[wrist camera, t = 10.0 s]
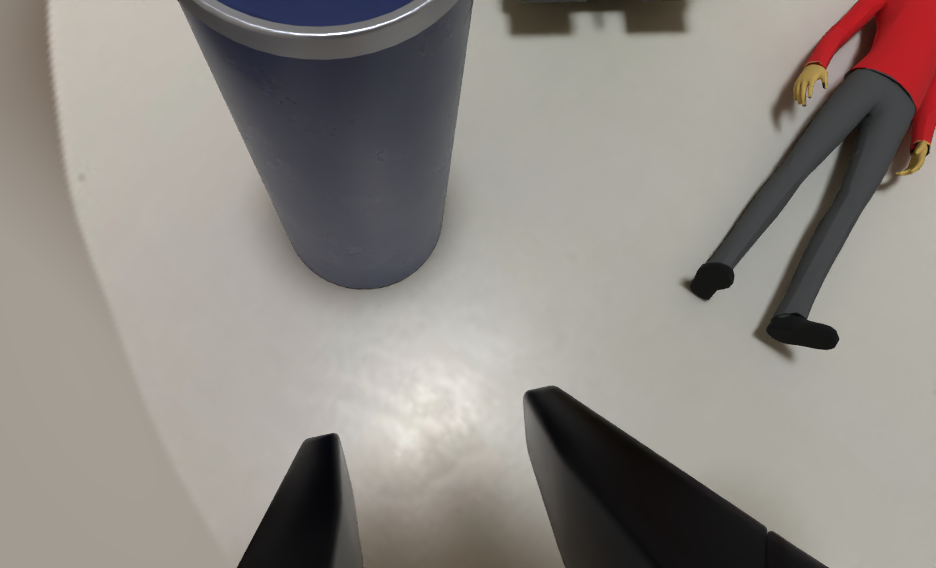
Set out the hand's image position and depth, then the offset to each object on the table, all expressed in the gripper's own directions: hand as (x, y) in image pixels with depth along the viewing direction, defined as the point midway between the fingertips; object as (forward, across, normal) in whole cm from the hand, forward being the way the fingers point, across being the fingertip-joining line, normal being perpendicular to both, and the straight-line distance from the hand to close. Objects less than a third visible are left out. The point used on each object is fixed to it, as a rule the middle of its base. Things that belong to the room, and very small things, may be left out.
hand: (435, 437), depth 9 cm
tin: (+15, 0, +4) cm, 16 cm away
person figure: (+16, -17, +4) cm, 24 cm away
